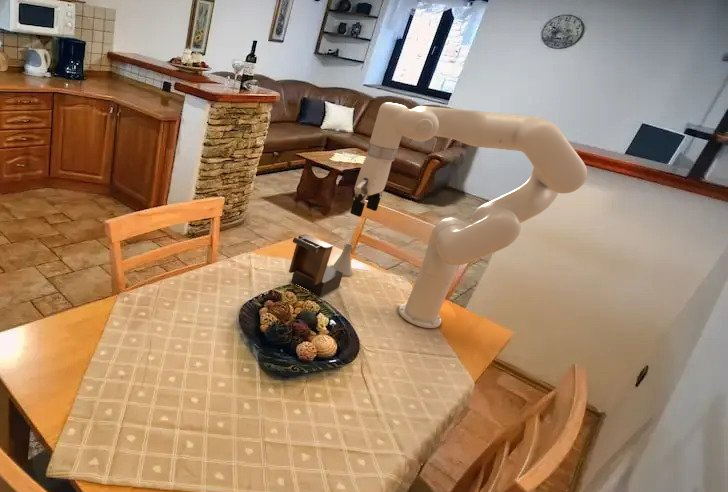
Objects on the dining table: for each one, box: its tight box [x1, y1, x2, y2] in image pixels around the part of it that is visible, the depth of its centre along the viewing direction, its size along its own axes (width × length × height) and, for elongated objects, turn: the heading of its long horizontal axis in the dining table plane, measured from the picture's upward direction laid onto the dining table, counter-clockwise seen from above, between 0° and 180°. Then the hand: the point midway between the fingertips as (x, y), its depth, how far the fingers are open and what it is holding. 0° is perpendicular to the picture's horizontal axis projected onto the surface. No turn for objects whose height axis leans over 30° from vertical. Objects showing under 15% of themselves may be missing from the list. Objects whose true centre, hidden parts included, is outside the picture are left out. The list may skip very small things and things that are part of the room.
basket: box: [288, 233, 334, 285], centre depth 149 cm, size 12×10×8 cm
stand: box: [290, 265, 344, 298], centre depth 160 cm, size 12×11×5 cm
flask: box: [331, 242, 354, 276], centre depth 171 cm, size 7×7×10 cm
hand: (363, 212), depth 142 cm, fingers open, 9 cm apart
